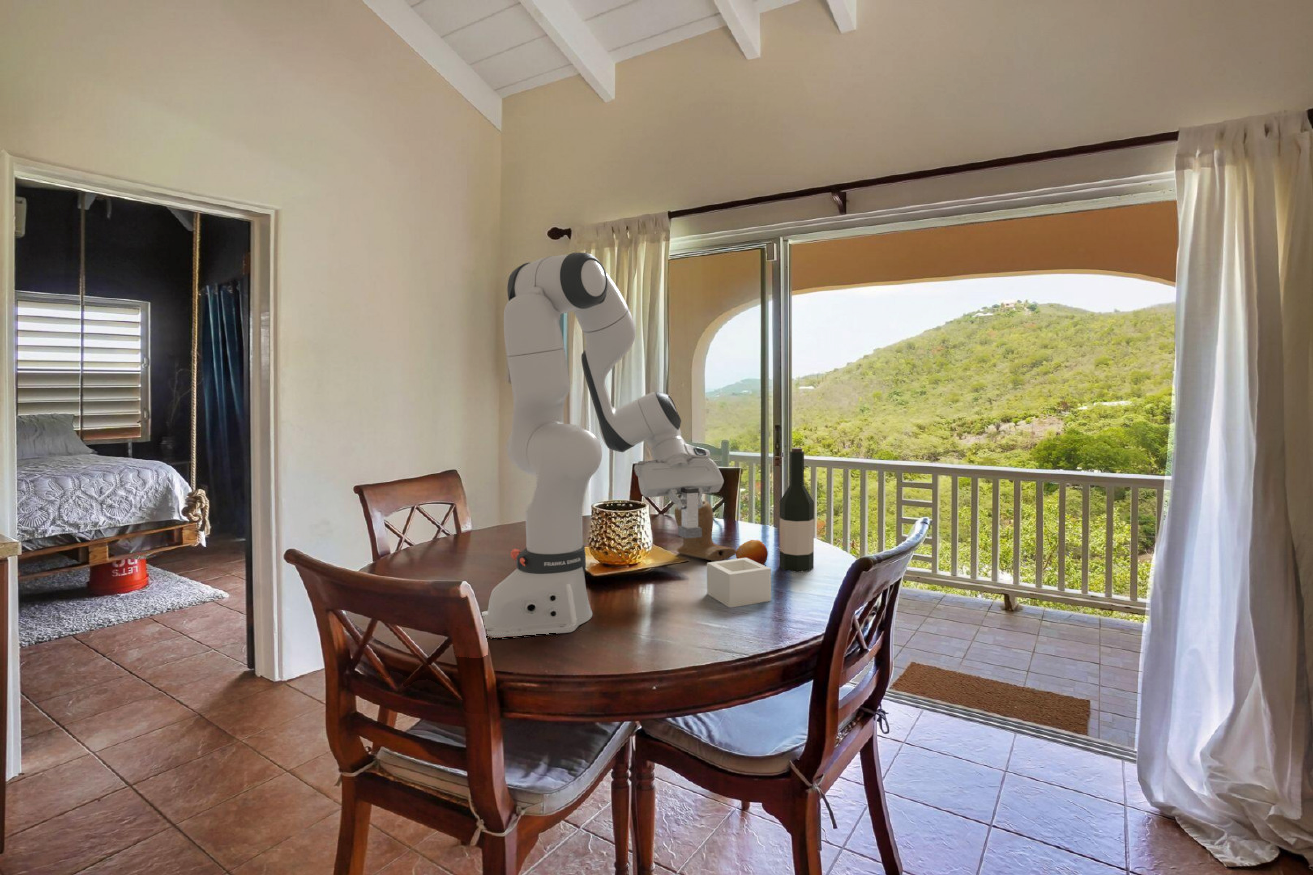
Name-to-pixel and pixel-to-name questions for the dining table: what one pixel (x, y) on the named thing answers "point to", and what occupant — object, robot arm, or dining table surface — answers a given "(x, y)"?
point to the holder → (738, 582)
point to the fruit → (753, 551)
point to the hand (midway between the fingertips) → (691, 507)
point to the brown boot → (703, 538)
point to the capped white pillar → (690, 514)
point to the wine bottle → (796, 520)
